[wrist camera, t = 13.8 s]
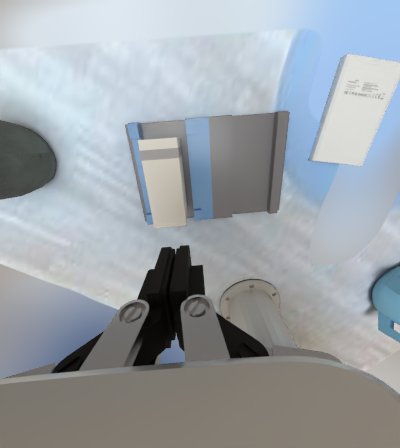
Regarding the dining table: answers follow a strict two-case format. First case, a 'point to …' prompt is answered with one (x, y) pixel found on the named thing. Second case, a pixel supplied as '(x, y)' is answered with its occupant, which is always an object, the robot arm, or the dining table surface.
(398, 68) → the external hard drive
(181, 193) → the block
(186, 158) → the board
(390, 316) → the teapot
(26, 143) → the bottle
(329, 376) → the robot arm
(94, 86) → the dining table surface
